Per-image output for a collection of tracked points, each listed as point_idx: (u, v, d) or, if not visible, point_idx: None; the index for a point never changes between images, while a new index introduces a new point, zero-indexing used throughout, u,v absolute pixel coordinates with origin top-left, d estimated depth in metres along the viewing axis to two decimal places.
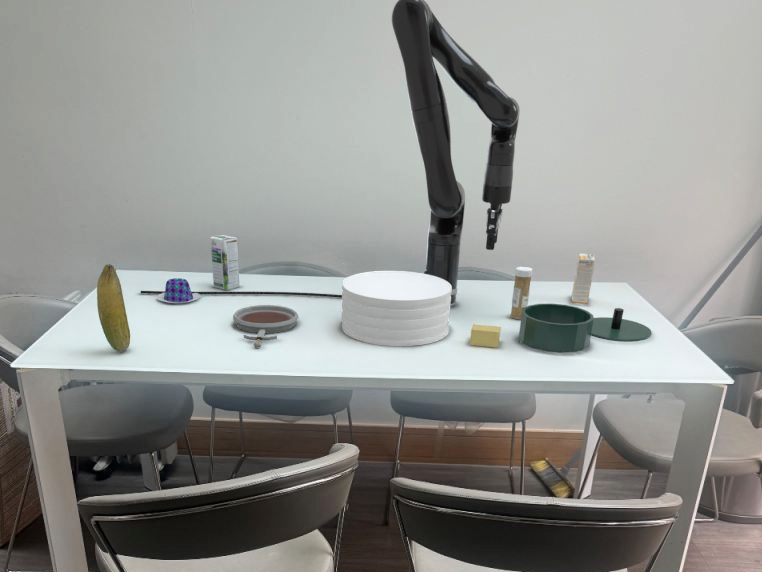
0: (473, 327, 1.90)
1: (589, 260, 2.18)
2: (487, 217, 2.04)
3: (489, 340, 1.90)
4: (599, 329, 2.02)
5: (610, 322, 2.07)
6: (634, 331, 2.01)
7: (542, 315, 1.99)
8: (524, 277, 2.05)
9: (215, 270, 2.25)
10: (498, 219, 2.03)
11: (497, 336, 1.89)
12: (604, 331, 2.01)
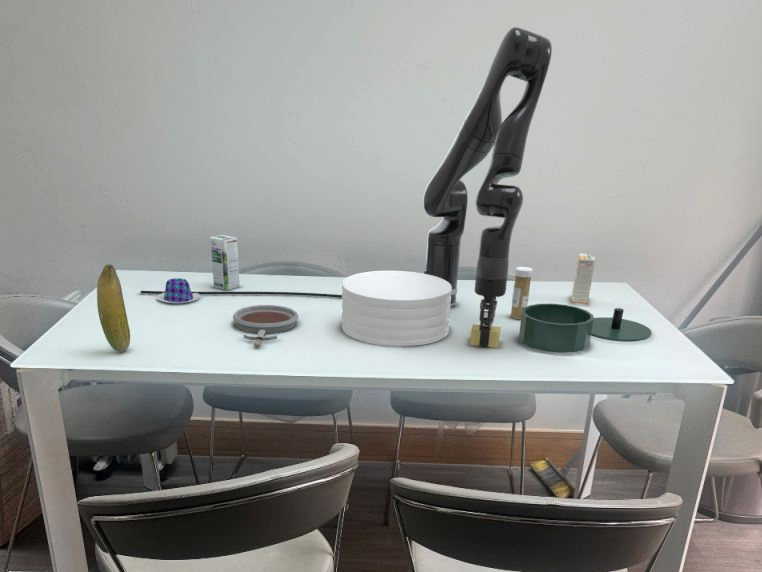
0: (473, 327, 1.90)
1: (589, 260, 2.18)
2: (480, 312, 1.86)
3: (489, 340, 1.90)
4: (599, 329, 2.02)
5: (610, 322, 2.07)
6: (634, 331, 2.01)
7: (542, 315, 1.99)
8: (524, 277, 2.05)
9: (215, 270, 2.25)
10: (492, 314, 1.86)
11: (497, 336, 1.89)
12: (604, 331, 2.01)
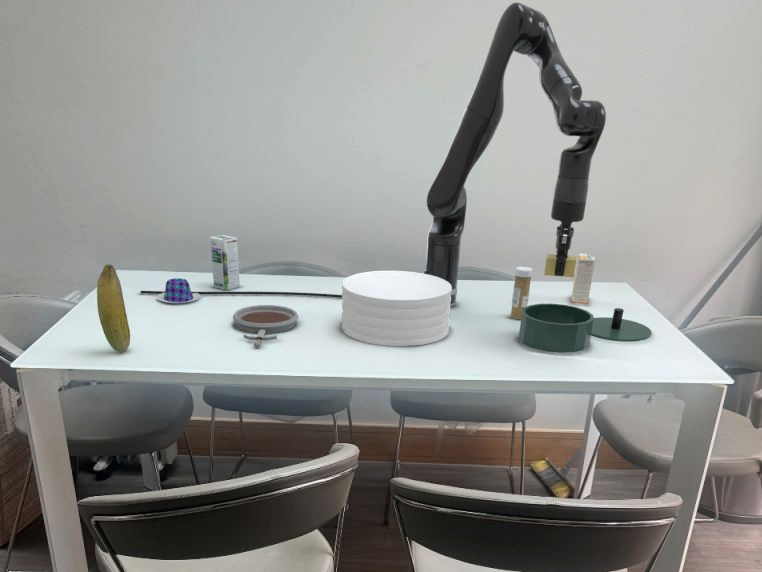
0: (548, 256, 1.84)
1: (589, 260, 2.18)
2: (557, 239, 1.79)
3: (565, 270, 1.83)
4: (599, 329, 2.02)
5: (610, 322, 2.07)
6: (634, 331, 2.01)
7: (542, 315, 1.99)
8: (524, 277, 2.05)
9: (215, 270, 2.25)
10: (569, 241, 1.79)
11: (573, 265, 1.82)
12: (604, 331, 2.01)
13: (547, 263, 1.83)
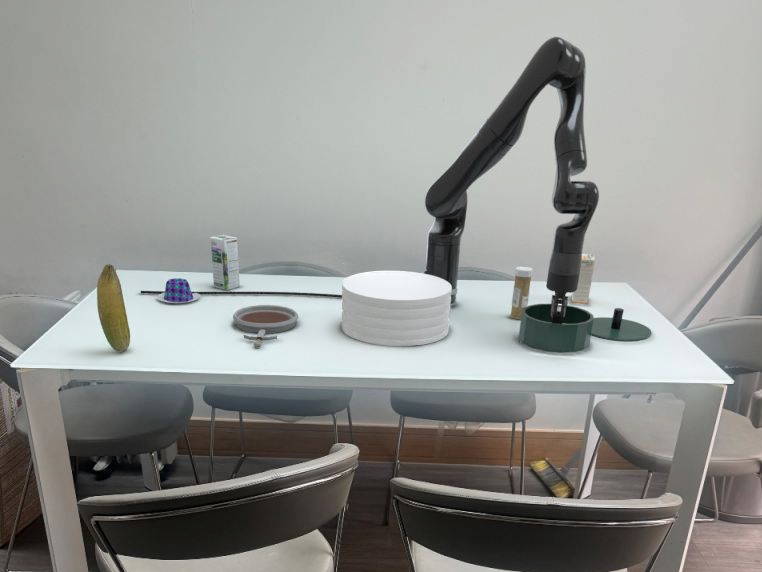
0: None
1: (589, 260, 2.18)
2: (552, 307, 1.88)
3: None
4: (599, 329, 2.02)
5: (610, 322, 2.07)
6: (634, 331, 2.01)
7: (542, 315, 1.99)
8: (524, 277, 2.05)
9: (215, 270, 2.25)
10: (564, 310, 1.87)
11: None
12: (604, 331, 2.01)
13: None
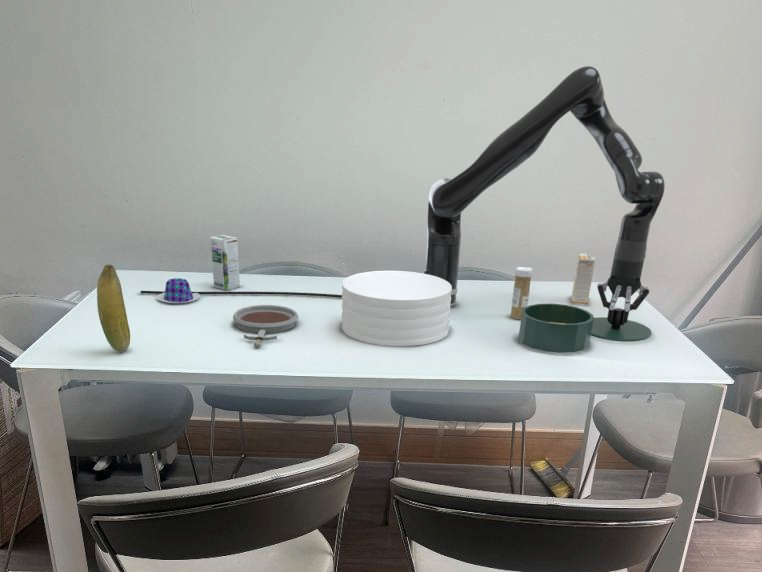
0: None
1: (589, 260, 2.18)
2: None
3: None
4: (599, 329, 2.02)
5: None
6: (634, 331, 2.01)
7: (542, 315, 1.99)
8: (524, 277, 2.05)
9: (215, 270, 2.25)
10: (613, 294, 1.98)
11: None
12: (604, 331, 2.01)
13: None
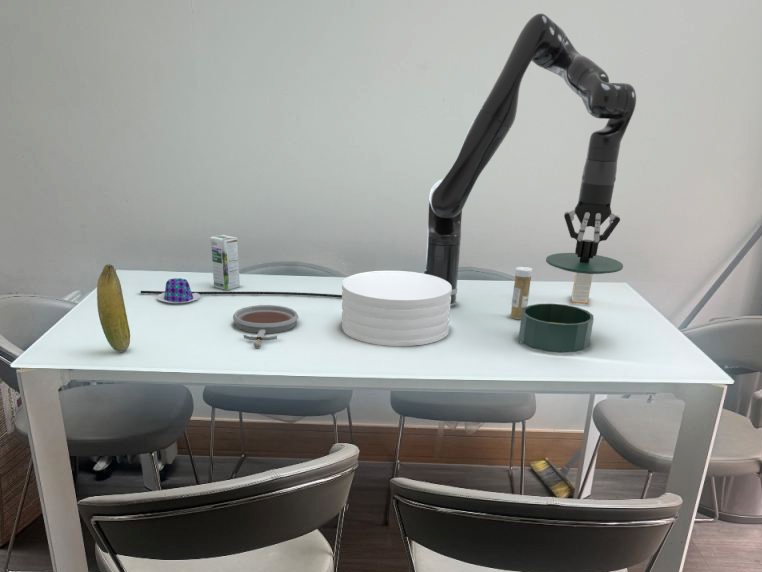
0: None
1: None
2: None
3: None
4: (566, 262, 1.86)
5: (579, 257, 1.91)
6: (604, 264, 1.85)
7: (542, 315, 1.99)
8: (524, 277, 2.05)
9: (215, 270, 2.25)
10: (582, 223, 1.82)
11: None
12: (572, 264, 1.84)
13: None
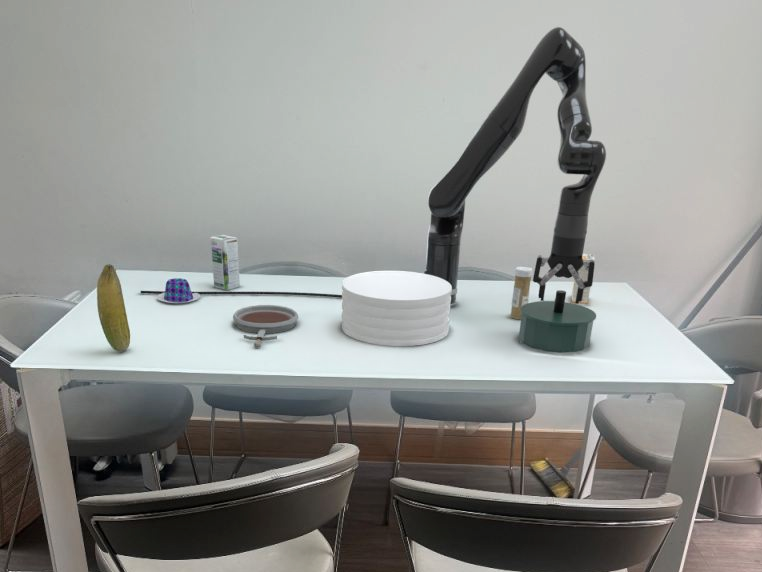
0: None
1: (589, 260, 2.18)
2: None
3: None
4: (540, 313, 1.89)
5: (554, 306, 1.95)
6: (578, 315, 1.89)
7: None
8: (524, 277, 2.05)
9: (215, 270, 2.25)
10: (551, 270, 1.85)
11: None
12: (545, 315, 1.88)
13: None
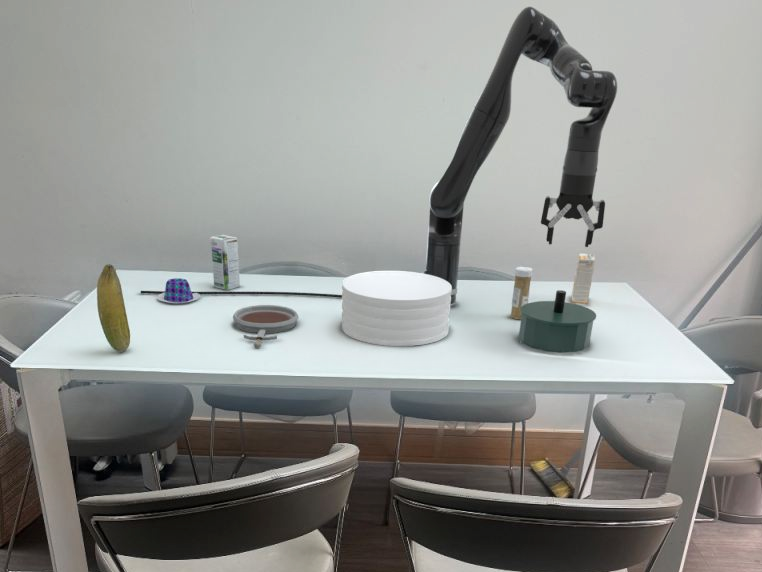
0: None
1: (589, 260, 2.18)
2: None
3: None
4: (540, 313, 1.89)
5: (554, 306, 1.95)
6: (578, 315, 1.89)
7: None
8: (524, 277, 2.05)
9: (215, 270, 2.25)
10: (560, 211, 1.78)
11: None
12: (545, 315, 1.88)
13: None
